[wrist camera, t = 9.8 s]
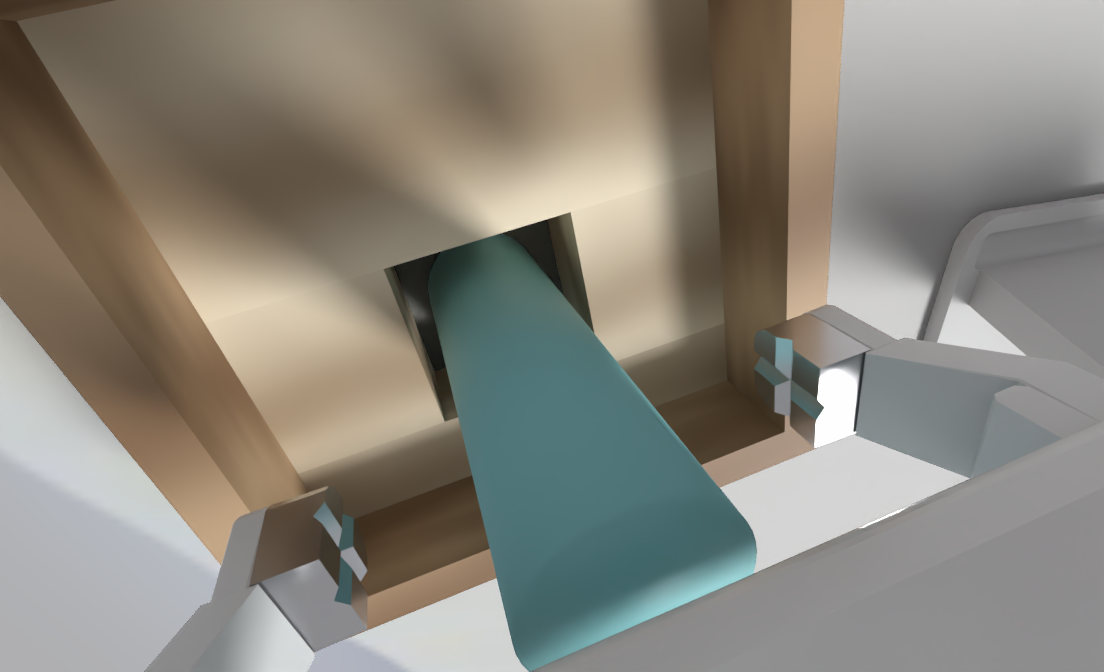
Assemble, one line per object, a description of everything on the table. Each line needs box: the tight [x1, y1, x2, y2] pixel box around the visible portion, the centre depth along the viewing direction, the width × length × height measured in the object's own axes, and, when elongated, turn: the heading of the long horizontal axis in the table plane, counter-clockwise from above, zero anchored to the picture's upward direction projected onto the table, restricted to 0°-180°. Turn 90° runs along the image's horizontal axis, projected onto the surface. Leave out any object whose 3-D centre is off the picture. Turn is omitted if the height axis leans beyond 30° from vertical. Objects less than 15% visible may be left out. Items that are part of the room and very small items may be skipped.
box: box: [0, 0, 844, 639], centre depth 14 cm, size 16×16×6 cm
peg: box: [428, 234, 757, 672], centre depth 12 cm, size 4×4×12 cm
